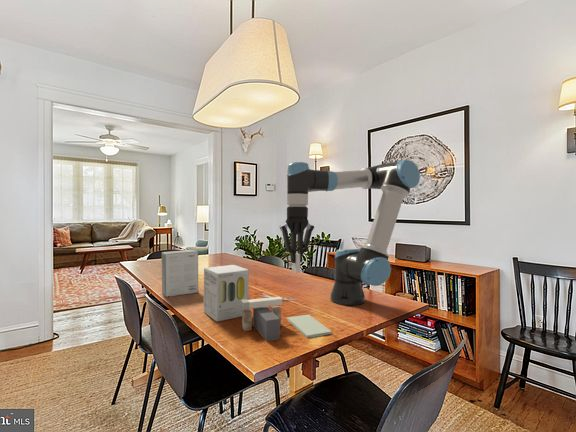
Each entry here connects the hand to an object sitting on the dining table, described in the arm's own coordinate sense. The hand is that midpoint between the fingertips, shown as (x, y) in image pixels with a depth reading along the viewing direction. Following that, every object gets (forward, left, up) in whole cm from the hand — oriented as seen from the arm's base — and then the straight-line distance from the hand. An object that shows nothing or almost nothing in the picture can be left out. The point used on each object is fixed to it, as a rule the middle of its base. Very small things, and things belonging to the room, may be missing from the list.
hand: (296, 271), depth 109 cm
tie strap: (+13, 0, -11) cm, 17 cm away
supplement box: (+22, -18, -18) cm, 34 cm away
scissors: (-2, -31, -19) cm, 36 cm away
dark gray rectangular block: (+13, +4, -18) cm, 23 cm away
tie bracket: (+13, 0, -18) cm, 22 cm away
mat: (-2, +5, -18) cm, 19 cm away
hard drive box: (+37, -54, -18) cm, 68 cm away
